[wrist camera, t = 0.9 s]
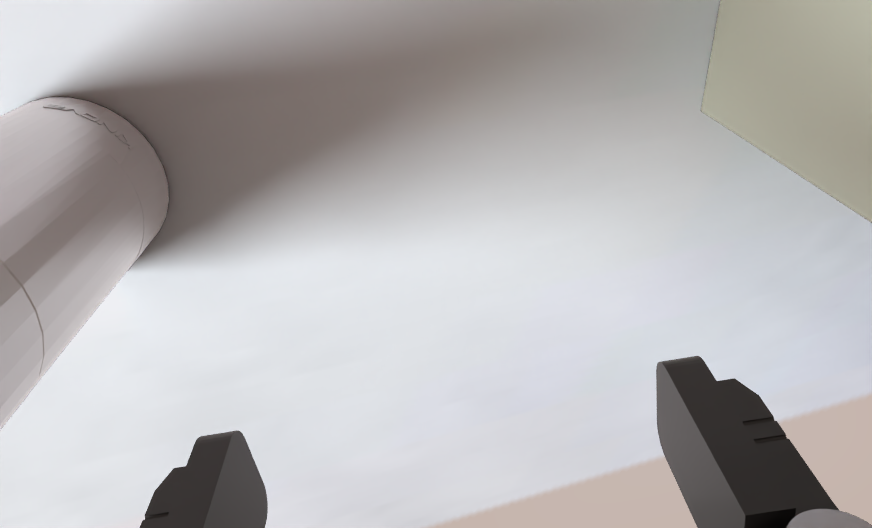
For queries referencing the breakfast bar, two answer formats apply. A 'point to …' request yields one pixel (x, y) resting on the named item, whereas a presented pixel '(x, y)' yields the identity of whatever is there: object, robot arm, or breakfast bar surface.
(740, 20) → the post
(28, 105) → the robot arm
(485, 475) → the breakfast bar surface
